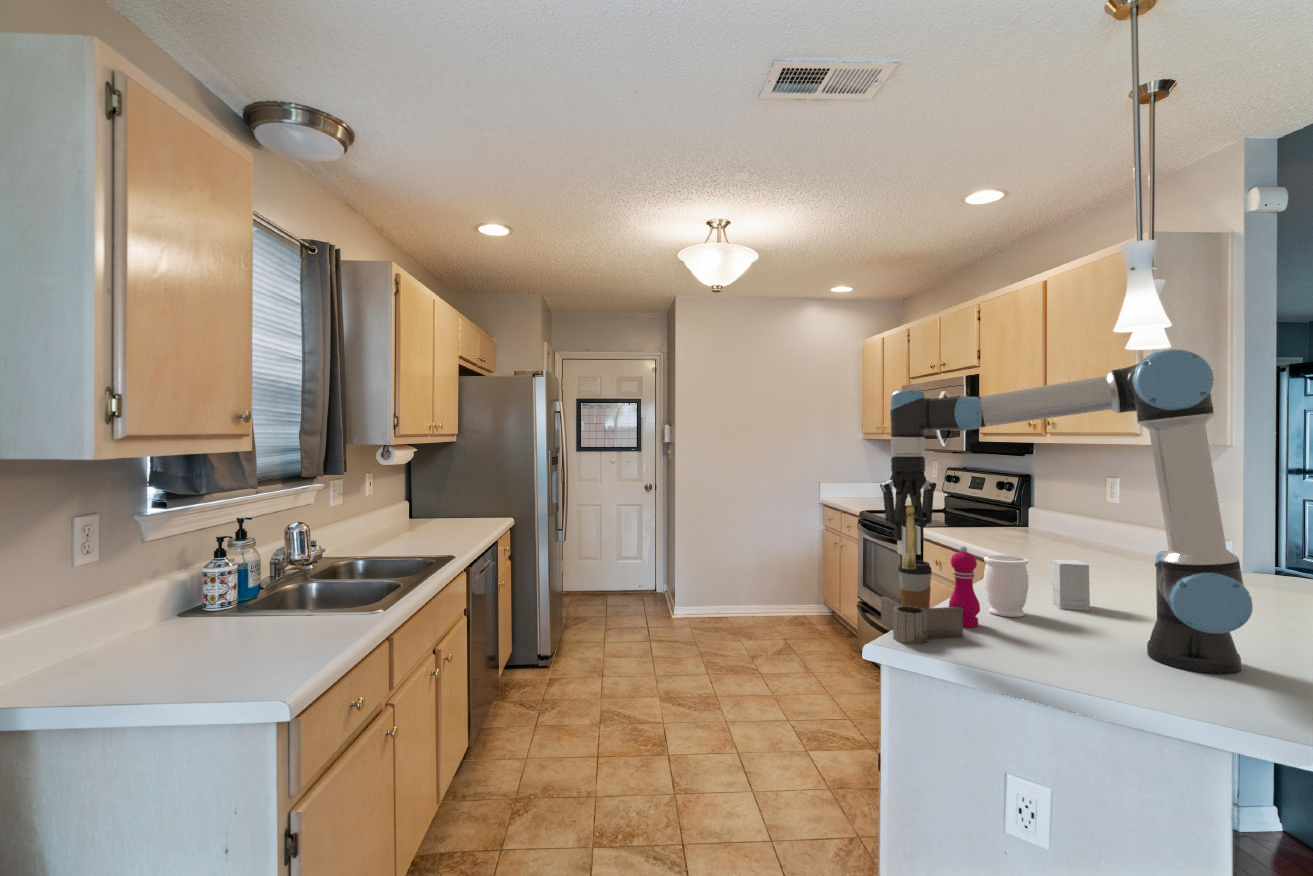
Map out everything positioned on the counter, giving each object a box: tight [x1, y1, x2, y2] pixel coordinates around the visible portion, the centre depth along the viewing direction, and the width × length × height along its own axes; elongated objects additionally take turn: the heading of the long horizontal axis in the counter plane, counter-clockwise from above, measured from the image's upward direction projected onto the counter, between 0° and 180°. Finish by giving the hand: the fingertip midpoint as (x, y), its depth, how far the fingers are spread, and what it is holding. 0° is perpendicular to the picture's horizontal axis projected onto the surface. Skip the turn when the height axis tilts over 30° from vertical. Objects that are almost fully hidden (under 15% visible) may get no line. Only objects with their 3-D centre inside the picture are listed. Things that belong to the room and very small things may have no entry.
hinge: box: [880, 595, 964, 645], centre depth 155 cm, size 17×17×7 cm
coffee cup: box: [897, 559, 933, 609], centre depth 166 cm, size 8×8×15 cm
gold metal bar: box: [901, 504, 917, 570], centre depth 150 cm, size 3×3×15 cm
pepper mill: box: [948, 545, 981, 628], centre depth 162 cm, size 7×7×20 cm
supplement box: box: [1051, 559, 1091, 612], centre depth 177 cm, size 7×7×13 cm
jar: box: [983, 554, 1030, 618], centre depth 171 cm, size 11×10×15 cm
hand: (909, 553), depth 150 cm, fingers closed on gold metal bar, 3 cm apart
